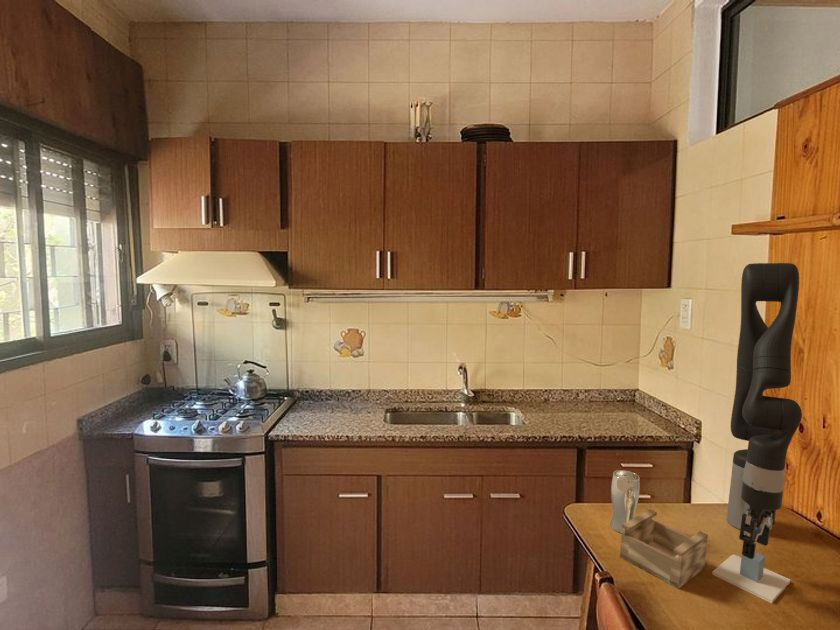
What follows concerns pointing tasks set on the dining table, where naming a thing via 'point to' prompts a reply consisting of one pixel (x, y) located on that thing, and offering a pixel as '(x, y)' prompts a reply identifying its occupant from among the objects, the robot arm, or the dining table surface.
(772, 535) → the dining table surface
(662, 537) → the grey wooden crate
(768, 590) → the cover plate
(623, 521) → the beer glass
